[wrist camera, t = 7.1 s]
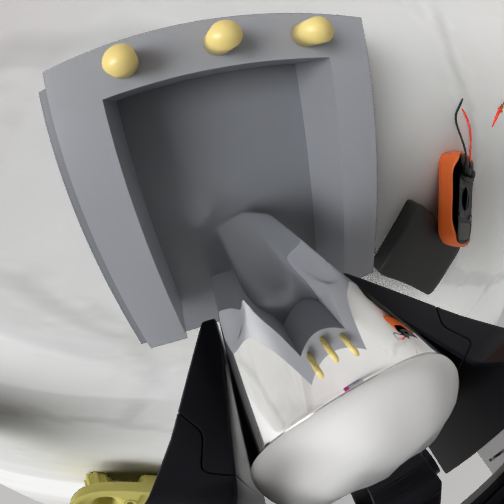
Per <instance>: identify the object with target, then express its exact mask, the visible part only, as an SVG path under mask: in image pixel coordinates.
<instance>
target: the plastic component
mask: <svg viewBox="0 0 504 504" xmlns="http://www.w3.org/2000/svg"><path fill="white" fill-rule="evenodd" d="M156 477H157V475H142V476H141V477H140V478H139V481H138V482H112V480H111V477H107V474H104V473H103V474H101V473H97V472H93V473H92V474H86V480H84V482H85V487H82V488H81V489H79V490H78V491H77V492H76V493H75V494H74V495H73V497H72V498H71V502H70V504H145V502H146V500H147V498H148V497H149V494H150V492H151V489H152V487H153V484H154V482H155V479H156Z"/></svg>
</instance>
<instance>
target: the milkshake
mask: <svg viewBox="0 0 504 504" xmlns="http://www.w3.org/2000/svg"><path fill="white" fill-rule="evenodd" d="M206 256H207V262H208V267H209V272H210V277H211V282H212V287H213V292H214V297H215V302H216V307H217V312H218V316H219V321H220V326H221V331H222V335H223V340H224V345H225V350H226V355H227V361H228V367H229V373H230V379H231V385H232V390H233V395H234V400H235V405H236V410H237V415H238V420H239V424H240V429H241V434H242V438H243V443H244V447H245V452H246V456H247V460H248V464H249V468H250V471H251V478H252V480H253V482H254V484H255V486H256V487H257V489H258V490H259V491H260V492H261V493H262V494H263V495H264V496H265V497H267V498H268V499H269V500H271V501H272V502H274V503H276V504H332V503H333V502H335V501H337V500H338V499H340V498H342V497H344V496H345V495H347V494H350V493H351V495H352V497H353V499H354V502H355V504H374V502H373V499H372V497H371V495H370V492H369V490H368V487H369V486H371V485H374V484H376V483H378V482H380V481H382V480H384V479H386V478H387V477H389V476H390V475H391V474H392V473H393V472H394V471H395V470H396V469H397V468H398V467H399V466H400V465H401V464H403V463H404V462H405V461H406V460H408V459H409V458H411V457H413V456H415V455H416V454H418V453H420V452H421V451H423V450H424V449H426V448H427V447H428V446H429V445H431V443H432V442H433V441H434V440H435V439H436V438H437V436H438V435H439V433H440V431H441V429H442V428H443V425H444V424H445V422H446V421H447V419H448V418H449V416H450V414H451V412H452V410H453V408H454V406H455V404H456V401H457V395H458V389H459V377H458V371H457V368H456V366H455V365H454V363H453V362H452V361H451V360H450V359H449V358H447V357H446V356H444V355H443V354H442V353H441V352H439V351H438V350H437V349H436V348H435V347H434V346H433V345H431V344H430V343H429V342H428V341H427V340H425V339H424V338H423V337H422V336H421V335H419V334H418V333H417V332H416V331H415V330H413V329H412V328H411V327H410V326H409V325H407V324H406V323H405V322H404V321H403V320H401V319H400V318H399V317H398V316H396V315H395V314H394V313H393V312H391V311H390V310H389V309H388V308H387V307H385V306H384V305H383V304H382V303H380V302H379V301H378V300H376V299H375V298H374V297H373V296H371V295H370V294H369V293H367V292H366V291H365V290H363V289H362V288H361V287H359V286H358V285H357V284H355V283H354V282H353V281H352V280H350V279H349V278H348V277H346V276H345V275H344V274H343V273H341V272H340V271H339V270H338V269H337V268H335V267H334V266H333V265H332V264H330V263H329V262H328V261H327V260H326V259H324V258H323V257H322V256H321V255H320V254H318V253H317V252H316V251H315V250H314V249H312V248H311V247H310V246H309V245H307V244H306V243H305V242H304V241H303V240H301V239H300V238H299V237H298V236H296V235H295V234H294V233H293V232H291V231H290V230H289V229H288V228H287V227H285V226H284V225H283V224H282V223H280V222H279V221H278V220H277V219H275V218H274V217H273V216H271V215H270V214H268V213H250V212H241V213H239V214H238V215H236V216H234V217H233V218H231V219H229V220H228V221H226V222H224V223H223V224H221V225H219V226H218V227H217V228H216V230H215V233H214V235H213V237H212V239H211V241H210V243H209V245H208V248H207V250H206Z"/></svg>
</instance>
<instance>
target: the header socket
mask: <svg viewBox="0 0 504 504" xmlns="http://www.w3.org/2000/svg"><path fill="white" fill-rule="evenodd" d="M43 78H44V83H45V88H46V89H45V90H43V91H41V92H39V97H40V102H41V106H42V110H43V115H44V119H45V123H46V126H47V130H48V134H49V137H50V141H51V144H52V148H53V151H54V154H55V158H56V161H57V164H58V167H59V170H60V173H61V176H62V179H63V182H64V184H65V187H66V190H67V193H68V195H69V198H70V201H71V203H72V206H73V208H74V211H75V213H76V216H77V218H78V221H79V223H80V226H81V228H82V230H83V233H84V235H85V237H86V240H87V242H88V244H89V246H90V248H91V251H92V253H93V255H94V257H95V259H96V261H97V263H98V265H99V267H100V270H101V272H102V274H103V276H104V278H105V280H106V282H107V283H108V285H109V287H110V289H111V291H112V293H113V295H114V297H115V299H116V300H117V302H118V304H119V306H120V308H121V310H122V311H123V313H124V315H125V317H126V318H127V320H128V322H129V324H130V325H131V327H132V329H133V330H134V332H135V334H136V335H137V337H138V339H139V340H140V342H141V344H143V343H148V344H149V346H150V348H153V347H157V346H160V345H164V344H168V343H171V342H175V341H178V340H182V339H185V338H187V333H186V331H189V330H192V329H195V328H199V327H201V324H202V322H204V321H207V320H210V319H215V320H216V322H218V321H219V316H218V312H217V307H216V302H215V297H214V292H213V287H212V282H211V277H210V272H209V267H208V262H207V256H206V250H207V248H208V245H209V243H210V241H211V239H212V237H213V235H214V233H215V230H216V228H217V227H218V226H219V225H221V224H223V223H224V222H226V221H228V220H229V219H231V218H233V217H234V216H236V215H238V214H239V213H241V212H250V213H268V214H270V215H271V216H273V217H274V218H275V219H277V220H278V221H279V222H280V223H282V224H283V225H284V226H285V227H287V228H288V229H289V230H290V231H291V232H293V233H294V234H295V235H296V236H298V237H299V238H300V239H301V240H303V241H304V242H305V243H306V244H307V245H309V246H310V247H311V248H312V249H314V250H315V251H316V252H317V253H318V254H320V255H321V256H322V257H323V258H324V259H326V260H327V261H328V262H329V263H330V264H332V265H333V266H334V267H335V268H337V269H338V270H339V271H340V272H341V273H343V274H344V273H347V274H350V275H353V276H355V277H358V278H361V277H363V276H366V275H368V274H370V273H373V266H374V253H375V237H376V214H377V155H376V132H375V116H374V104H373V93H372V84H371V76H370V68H369V60H368V54H367V47H366V41H365V35H364V30H363V25H362V19H361V18H360V17H352V16H342V15H330V14H312V13H270V14H252V15H240V16H230V17H221V18H214V19H207V20H201V21H195V22H189V23H184V24H179V25H174V26H170V27H166V28H161V29H157V30H153V31H149V32H146V33H142V34H139V35H135V36H132V37H128V38H125V39H122V40H119V41H116V42H113V43H110V44H107V45H104V46H102V47H99V48H96V49H94V50H91V51H89V52H86V53H84V54H81V55H79V56H76V57H74V58H72V59H70V60H67V61H65V62H63V63H61V64H59V65H56V66H54V67H52V68H50V69H48V70H46V71H44V72H43Z"/></svg>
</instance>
